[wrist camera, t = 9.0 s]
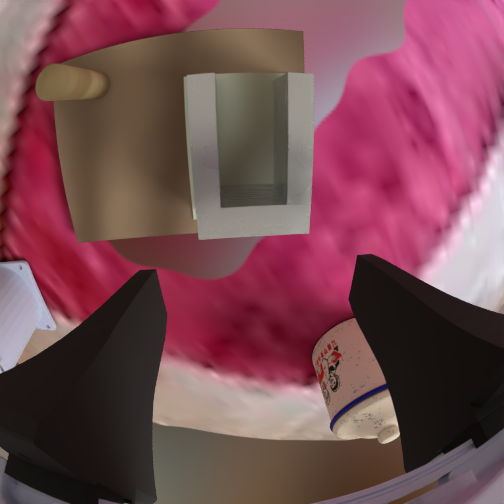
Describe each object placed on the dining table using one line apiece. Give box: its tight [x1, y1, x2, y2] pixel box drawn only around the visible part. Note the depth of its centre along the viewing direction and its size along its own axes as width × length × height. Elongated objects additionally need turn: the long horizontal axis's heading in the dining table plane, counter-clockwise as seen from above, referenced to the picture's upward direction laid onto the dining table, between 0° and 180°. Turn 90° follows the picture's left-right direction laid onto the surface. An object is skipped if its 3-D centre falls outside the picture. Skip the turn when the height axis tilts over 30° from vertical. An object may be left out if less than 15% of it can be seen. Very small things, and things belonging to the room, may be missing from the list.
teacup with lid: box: [312, 318, 400, 444], centre depth 23 cm, size 12×9×12 cm
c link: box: [187, 72, 314, 240], centre depth 14 cm, size 8×6×4 cm
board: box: [36, 29, 304, 243], centre depth 13 cm, size 16×13×6 cm
